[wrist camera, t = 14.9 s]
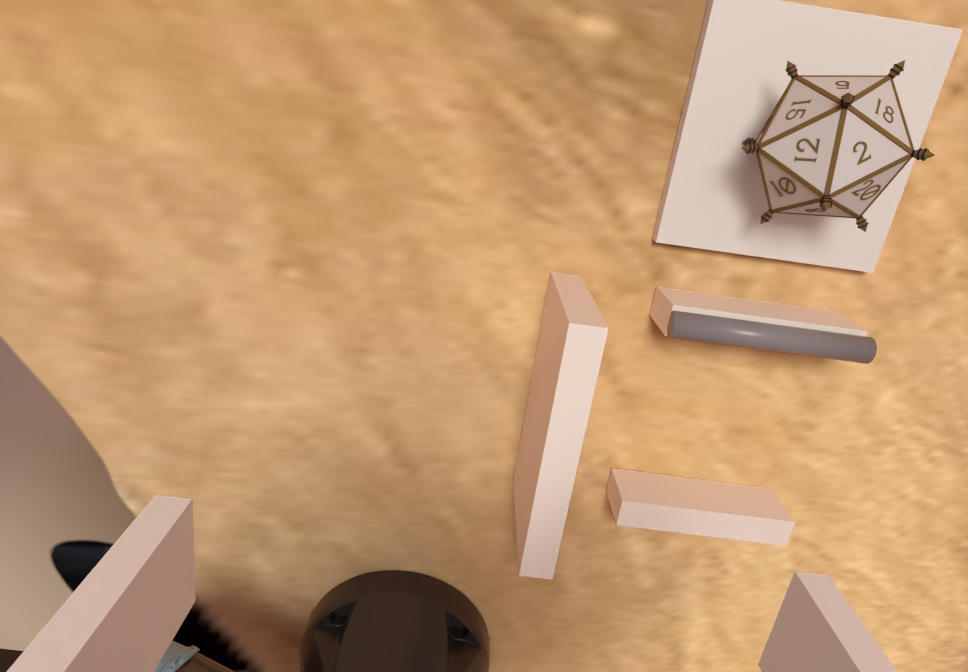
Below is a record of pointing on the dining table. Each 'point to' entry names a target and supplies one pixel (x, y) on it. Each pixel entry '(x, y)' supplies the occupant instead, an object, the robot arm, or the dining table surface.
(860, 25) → the mat
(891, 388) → the dining table surface
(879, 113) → the game die
